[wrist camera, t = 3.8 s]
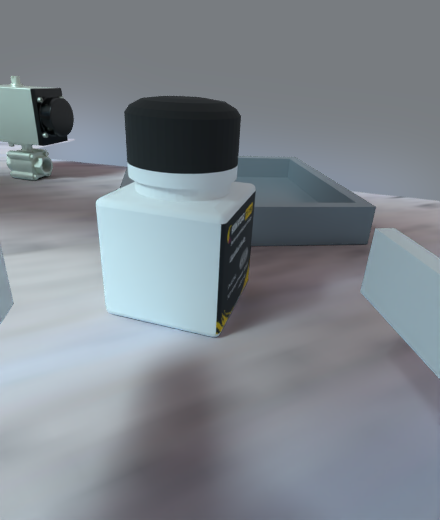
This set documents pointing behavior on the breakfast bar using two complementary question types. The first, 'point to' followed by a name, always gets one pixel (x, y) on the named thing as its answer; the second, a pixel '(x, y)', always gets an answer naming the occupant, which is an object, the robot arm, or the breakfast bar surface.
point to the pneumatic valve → (32, 126)
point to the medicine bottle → (178, 217)
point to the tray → (300, 204)
